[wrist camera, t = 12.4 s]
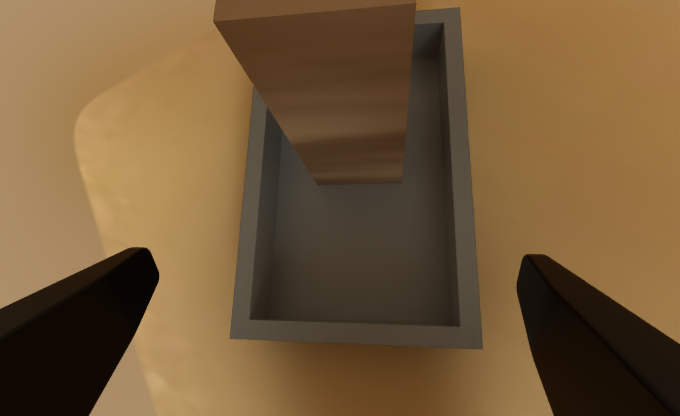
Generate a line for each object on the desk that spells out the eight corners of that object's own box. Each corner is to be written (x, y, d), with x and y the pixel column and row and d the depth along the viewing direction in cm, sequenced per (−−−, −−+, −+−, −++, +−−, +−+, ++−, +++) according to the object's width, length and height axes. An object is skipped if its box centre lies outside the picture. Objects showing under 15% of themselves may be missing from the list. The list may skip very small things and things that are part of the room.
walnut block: (401, 183, 19) (416, 3, 8) (317, 185, 20) (213, 21, 8) (400, 106, 20) (410, -153, 9) (320, 110, 21) (231, -126, 9)
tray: (465, 340, 18) (482, 349, 14) (258, 332, 19) (229, 338, 16) (449, 53, 22) (459, 7, 18) (278, 64, 23) (259, 23, 20)
